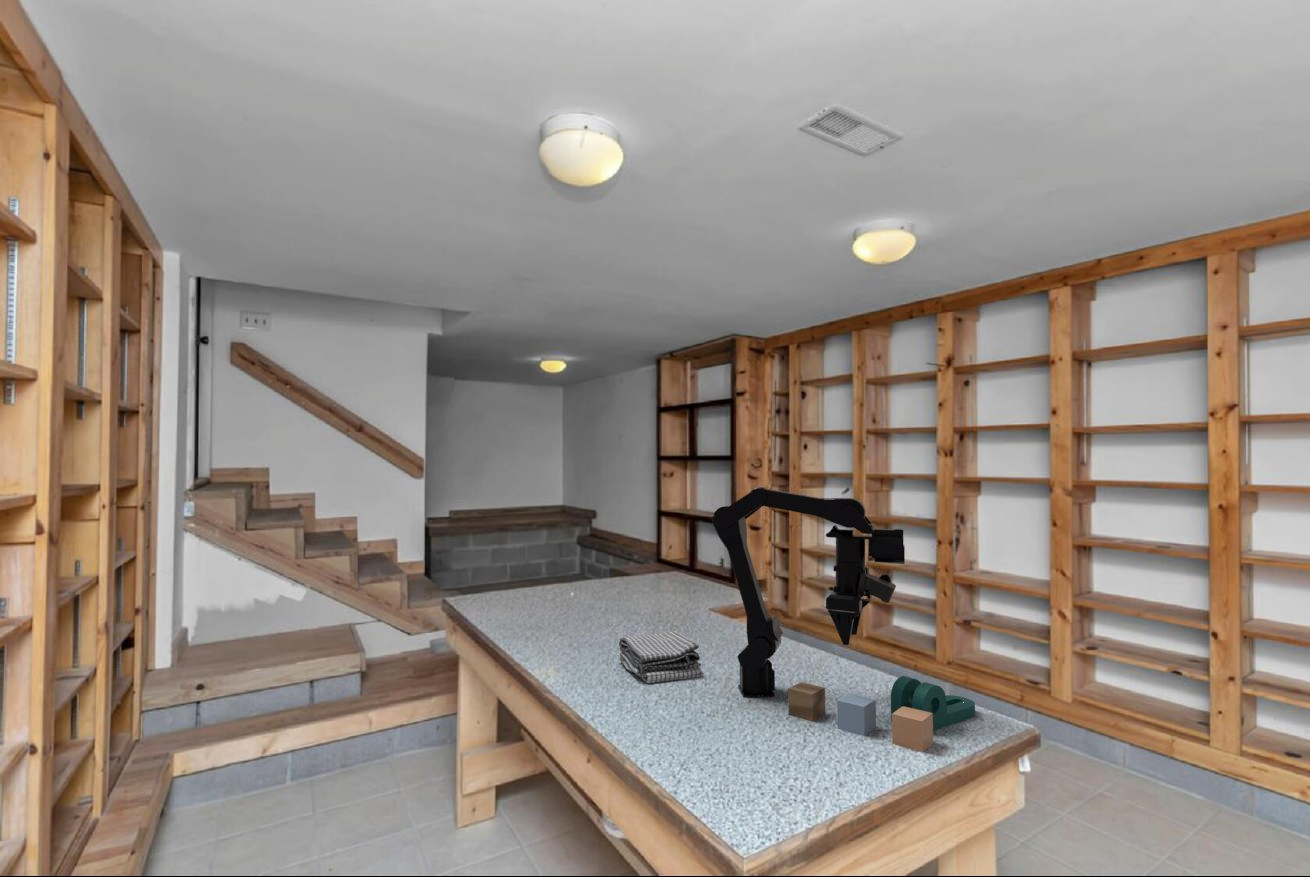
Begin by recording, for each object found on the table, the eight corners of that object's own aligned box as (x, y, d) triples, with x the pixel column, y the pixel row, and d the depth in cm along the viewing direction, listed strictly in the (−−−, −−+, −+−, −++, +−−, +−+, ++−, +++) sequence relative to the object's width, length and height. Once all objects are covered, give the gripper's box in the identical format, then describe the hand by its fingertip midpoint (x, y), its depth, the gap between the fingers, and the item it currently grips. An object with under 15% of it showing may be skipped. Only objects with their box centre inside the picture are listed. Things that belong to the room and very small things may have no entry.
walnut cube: (812, 721, 118) (812, 694, 118) (788, 715, 121) (788, 688, 122) (825, 714, 122) (825, 687, 122) (801, 708, 125) (801, 682, 125)
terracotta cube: (922, 752, 105) (921, 721, 105) (892, 744, 108) (891, 713, 108) (933, 743, 108) (932, 712, 109) (903, 735, 112) (902, 706, 112)
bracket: (923, 735, 112) (922, 689, 113) (891, 722, 118) (890, 679, 118) (982, 715, 122) (981, 672, 122) (949, 704, 127) (948, 664, 128)
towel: (674, 657, 161) (674, 626, 161) (705, 679, 144) (705, 643, 144) (616, 663, 155) (616, 631, 156) (641, 686, 138) (641, 649, 139)
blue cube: (864, 736, 111) (863, 706, 112) (837, 728, 115) (837, 700, 115) (876, 728, 115) (875, 699, 115) (849, 721, 118) (849, 693, 119)
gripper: (887, 569, 117) (887, 656, 116) (897, 558, 134) (897, 634, 133) (825, 564, 122) (824, 648, 121) (842, 554, 139) (842, 628, 138)
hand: (850, 639), depth 128 cm, fingers open, 9 cm apart
